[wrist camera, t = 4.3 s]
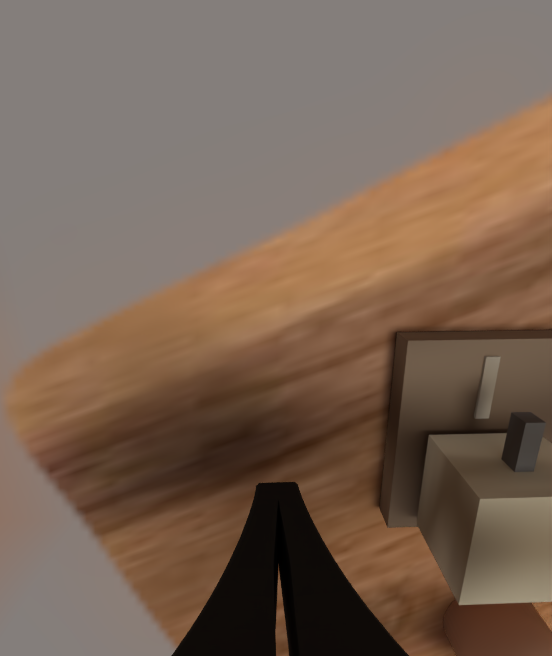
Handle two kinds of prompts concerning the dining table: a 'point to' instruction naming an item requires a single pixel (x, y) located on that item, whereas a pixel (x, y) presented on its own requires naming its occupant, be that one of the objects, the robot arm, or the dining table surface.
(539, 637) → the terracotta cylinder
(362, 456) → the dining table surface
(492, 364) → the board
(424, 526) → the birch slider
